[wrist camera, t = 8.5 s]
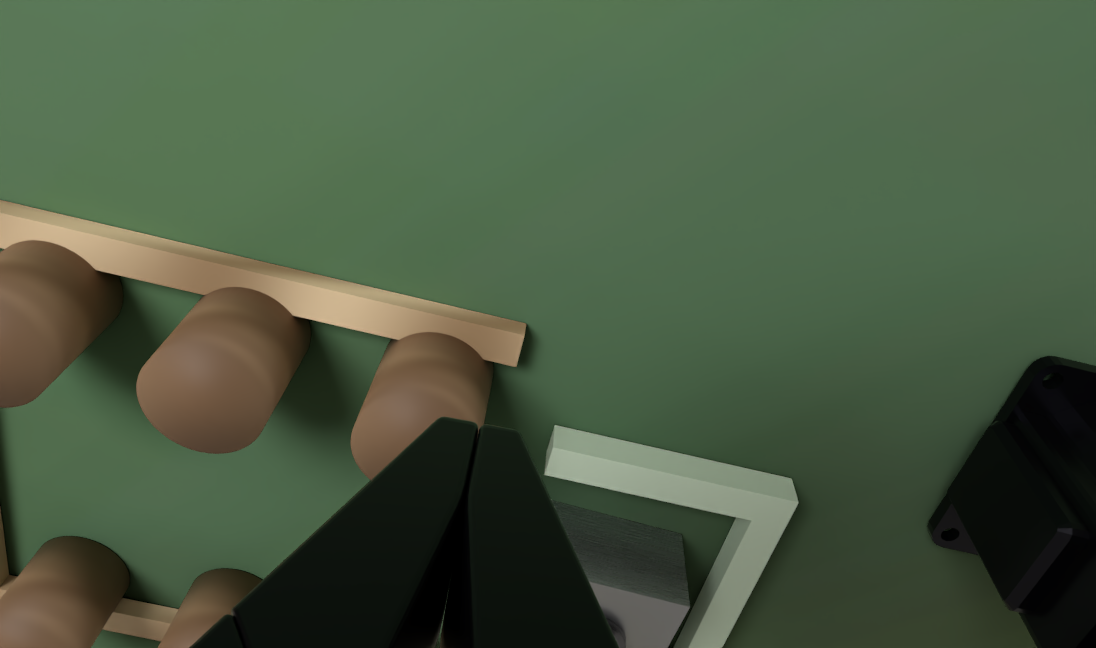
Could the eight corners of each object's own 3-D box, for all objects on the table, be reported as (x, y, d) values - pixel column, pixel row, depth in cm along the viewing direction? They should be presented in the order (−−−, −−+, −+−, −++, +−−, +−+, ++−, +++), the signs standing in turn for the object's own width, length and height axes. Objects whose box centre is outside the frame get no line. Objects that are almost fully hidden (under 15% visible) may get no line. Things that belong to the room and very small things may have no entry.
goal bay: (791, 478, 24) (798, 502, 23) (691, 674, 29) (694, 700, 28) (555, 424, 24) (552, 447, 23) (490, 633, 28) (487, 658, 27)
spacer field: (526, 323, 22) (514, 402, 19) (432, 679, 30) (412, 776, 26) (-82, 180, 21) (-197, 239, 18) (-19, 588, 28) (-92, 678, 25)
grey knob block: (681, 529, 26) (691, 615, 23) (632, 624, 28) (635, 714, 25) (539, 492, 25) (531, 576, 22) (501, 592, 27) (489, 679, 25)
